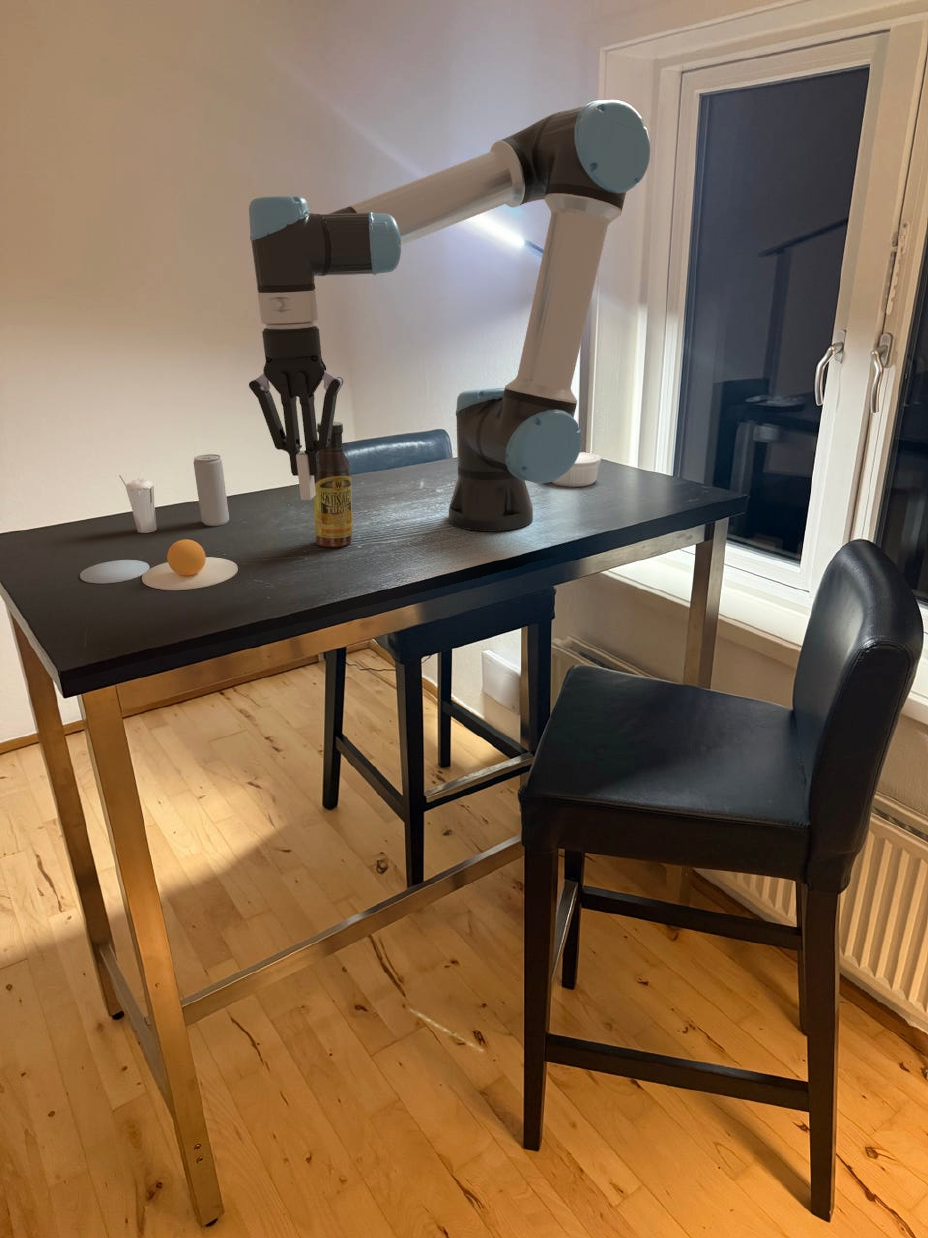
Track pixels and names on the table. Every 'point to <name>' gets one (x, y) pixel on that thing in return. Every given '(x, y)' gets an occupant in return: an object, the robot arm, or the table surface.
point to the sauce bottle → (333, 493)
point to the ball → (186, 557)
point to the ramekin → (581, 471)
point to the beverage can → (211, 489)
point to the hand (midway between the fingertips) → (308, 497)
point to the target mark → (208, 576)
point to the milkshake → (142, 504)
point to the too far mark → (114, 571)
